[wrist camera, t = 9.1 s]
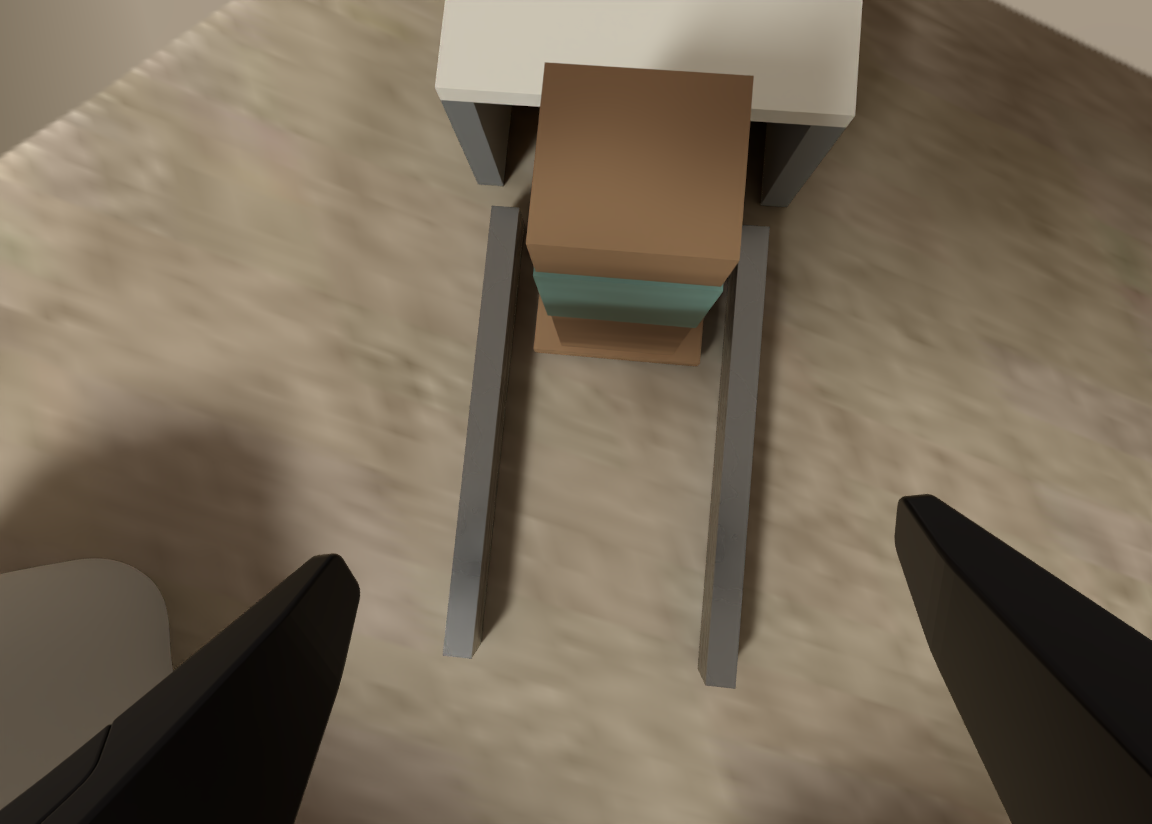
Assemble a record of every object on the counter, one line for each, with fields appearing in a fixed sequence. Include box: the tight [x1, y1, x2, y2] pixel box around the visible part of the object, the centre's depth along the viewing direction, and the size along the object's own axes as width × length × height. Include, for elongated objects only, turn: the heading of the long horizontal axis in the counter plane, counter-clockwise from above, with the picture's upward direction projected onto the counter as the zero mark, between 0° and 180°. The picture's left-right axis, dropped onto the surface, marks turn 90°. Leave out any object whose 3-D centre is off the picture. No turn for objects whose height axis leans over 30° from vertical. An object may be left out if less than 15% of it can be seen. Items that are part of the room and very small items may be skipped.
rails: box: [443, 206, 770, 689], centre depth 22 cm, size 16×10×2 cm, turn 174°
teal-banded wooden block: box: [526, 62, 754, 366], centre depth 17 cm, size 8×6×11 cm
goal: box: [435, 0, 863, 207], centre depth 20 cm, size 7×12×6 cm, turn 84°
